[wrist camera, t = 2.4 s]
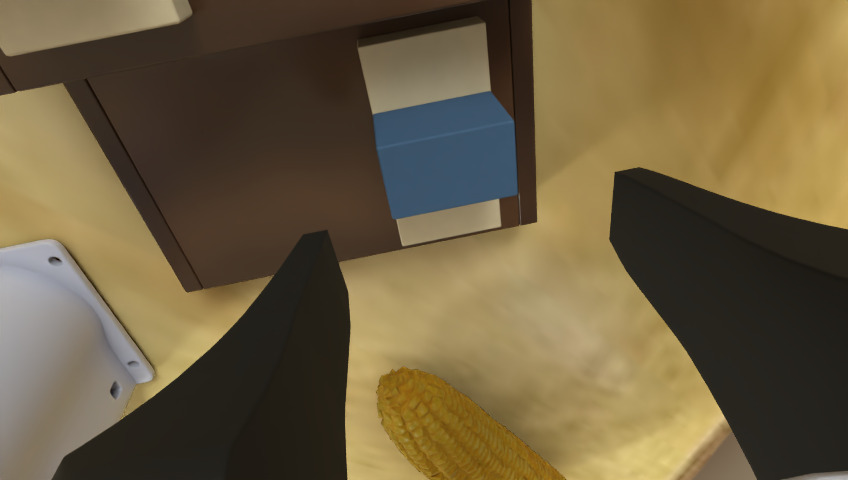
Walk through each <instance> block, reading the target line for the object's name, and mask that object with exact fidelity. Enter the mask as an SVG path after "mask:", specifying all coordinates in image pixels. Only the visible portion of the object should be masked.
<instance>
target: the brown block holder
mask: <svg viewBox="0 0 848 480" xmlns="http://www.w3.org/2000/svg"><path fill="white" fill-rule="evenodd" d="M188 2H189V5H190V7H191V10H192V15H191V16H190V17H188V18H187V19H185V20H184V21H182V22H181V23H179V24H175V25H170V26H164V27H159V28H154V29H149V30H144V31H139V32H134V33H128V34H123V35H118V36H113V37H108V38H103V39H98V40H92V41H87V42H82V43H77V44H72V45H67V46H62V47H57V48H51V49H46V50H41V51H36V52H31V53H26V54H21V55H15V56H6V55H5V54H4V52H3V51H2V49H1V48H0V96H1V95H6V94H11V93H15V92H17V91H25V90H30V89H35V88H40V87H45V86H50V85H55V84H61V83H63V84H64V86H65V87H66V89H67V91H68V92H69V94H70V96H71V97H72V99H73V101H74V103H75V104H76V106H77V108H78V109H79V111H80V113H81V114H82V116H83V118H84V120H85V121H86V123H87V125H88V126H89V128H90V130H91V131H92V133H93V135H94V136H95V138H96V140H97V142H98V143H99V145H100V147H101V148H102V150H103V152H104V153H105V155H106V157H107V159H108V160H109V162H110V164H111V165H112V167H113V169H114V170H115V172H116V174H117V176H118V177H119V179H120V181H121V182H122V184H123V186H124V187H125V189H126V191H127V192H128V194H129V196H130V198H131V199H132V201H133V203H134V204H135V206H136V208H137V209H138V211H139V213H140V215H141V216H142V218H143V220H144V221H145V223H146V225H147V226H148V228H149V230H150V232H151V233H152V235H153V237H154V238H155V240H156V242H157V243H158V245H159V247H160V249H161V250H162V252H163V254H164V255H165V257H166V259H167V260H168V262H169V264H170V265H171V267H172V269H173V271H174V272H175V274H176V276H177V277H178V279H179V281H180V282H181V284H182V286H183V288H184V289H185V291H186V292H192V291H197V290H202V289H203V288H204V289H207V288H212V287H217V286H222V285H227V284H232V283H237V282H242V281H247V280H252V279H257V278H262V277H267V276H272V275H275V274H276V272H277V271H278V270H279V268H280V267H281V265H282V264H283V262H284V261H285V260H286V258H287V257H288V255H289V254H290V252H291V251H292V249H293V248H294V247H295V245H296V244H297V242H298V241H299V239H300V238H301V237H302V235H303V234H308V233H313V232H318V231H323V230H328V233H329V236H330V239H331V242H332V245H333V248H334V251H335V254H336V257H337V260H338V262H341V261H346V260H351V259H356V258H361V257H366V256H371V255H376V254H381V253H386V252H391V251H396V250H401V249H406V248H411V247H416V246H421V245H426V244H431V243H436V242H441V241H446V240H451V239H456V238H461V237H466V236H471V235H476V234H480V233H485V232H490V231H495V230H500V229H505V228H510V227H515V226H519V224H520V225H526V224H531V223H535V222H537V199H536V159H535V119H534V79H533V39H532V0H188ZM475 16H478V17H479V18H480V19H481V20H483V21H484V22H485V23H486V35H487V48H488V61H489V74H490V87H491V92H492V93H493V95H494V96H495V97H496V98H497V100H498V101H499V102H500V104H501V105H502V106H503V107H504V109H505V110H506V111H507V113H508V114H509V115H510V116H511V118H512V119H513V120H514V123H515V143H516V163H517V183H518V194H517V195H515V196H510V197H505V198H500V199H499V204H500V217H501V227H497V228H492V229H487V230H482V231H477V232H472V233H467V234H462V235H457V236H452V237H447V238H442V239H437V240H432V241H427V242H422V243H417V244H412V245H408V246H402V242H401V238H400V234H399V229H398V225H397V220H394V219H393V218H392V216H391V211H390V207H389V203H388V198H387V194H386V190H385V186H384V181H383V177H382V173H381V168H380V164H379V160H378V155H377V151H376V143H375V133H374V123H373V114H372V110H371V106H370V101H369V97H368V92H367V88H366V83H365V79H364V75H363V70H362V66H361V61H360V57H359V53H358V46H357V40H358V39H363V38H368V37H373V36H378V35H383V34H388V33H394V32H399V31H404V30H409V29H414V28H419V27H424V26H429V25H434V24H440V23H445V22H450V21H455V20H460V19H465V18H470V17H475Z"/></svg>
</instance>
